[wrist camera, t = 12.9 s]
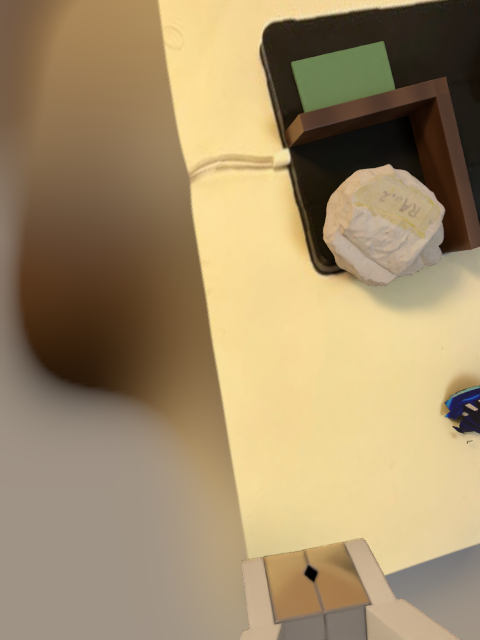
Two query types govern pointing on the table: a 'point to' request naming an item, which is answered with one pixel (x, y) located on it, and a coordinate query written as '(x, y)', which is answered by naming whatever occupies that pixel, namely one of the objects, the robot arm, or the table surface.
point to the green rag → (343, 76)
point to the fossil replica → (383, 225)
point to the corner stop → (431, 141)
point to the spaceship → (466, 409)
